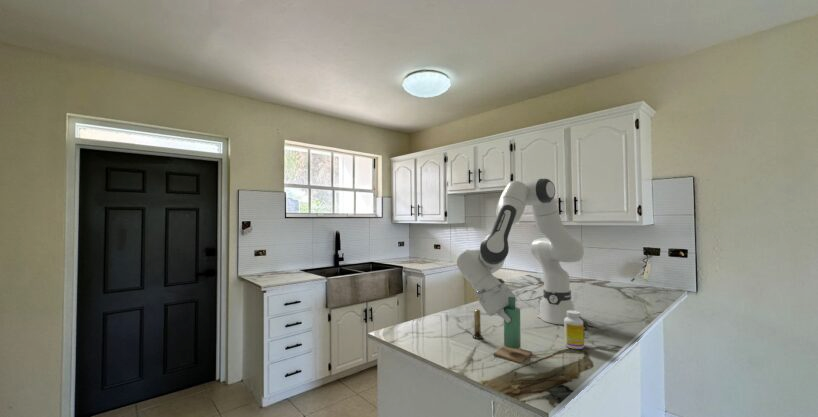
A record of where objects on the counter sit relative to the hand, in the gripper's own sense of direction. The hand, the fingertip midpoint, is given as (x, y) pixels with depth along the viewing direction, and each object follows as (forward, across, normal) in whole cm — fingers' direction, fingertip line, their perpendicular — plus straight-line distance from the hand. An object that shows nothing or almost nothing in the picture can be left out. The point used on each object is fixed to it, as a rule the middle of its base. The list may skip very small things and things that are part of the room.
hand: (513, 318), depth 117 cm
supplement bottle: (+19, +22, -1) cm, 29 cm away
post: (-4, +8, +22) cm, 24 cm away
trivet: (+9, 0, +9) cm, 13 cm away
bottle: (+6, 0, +7) cm, 10 cm away
